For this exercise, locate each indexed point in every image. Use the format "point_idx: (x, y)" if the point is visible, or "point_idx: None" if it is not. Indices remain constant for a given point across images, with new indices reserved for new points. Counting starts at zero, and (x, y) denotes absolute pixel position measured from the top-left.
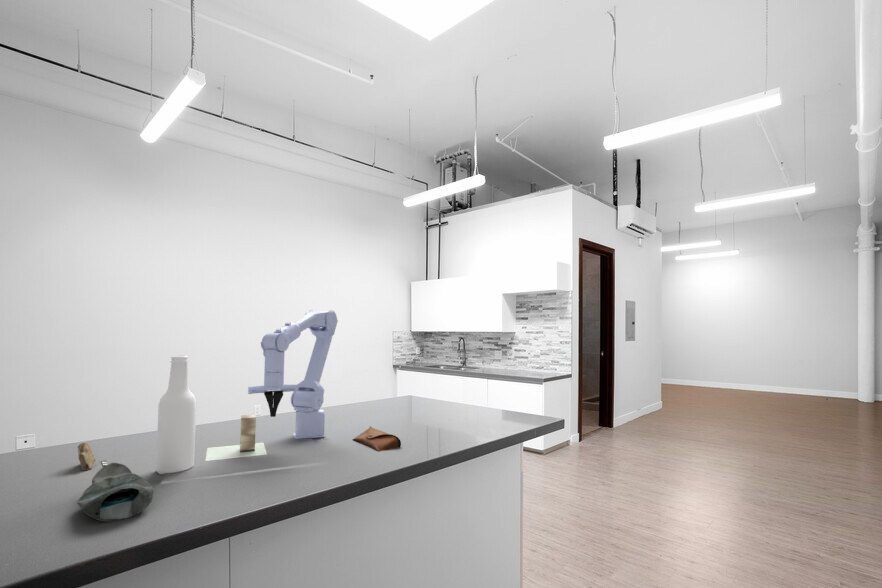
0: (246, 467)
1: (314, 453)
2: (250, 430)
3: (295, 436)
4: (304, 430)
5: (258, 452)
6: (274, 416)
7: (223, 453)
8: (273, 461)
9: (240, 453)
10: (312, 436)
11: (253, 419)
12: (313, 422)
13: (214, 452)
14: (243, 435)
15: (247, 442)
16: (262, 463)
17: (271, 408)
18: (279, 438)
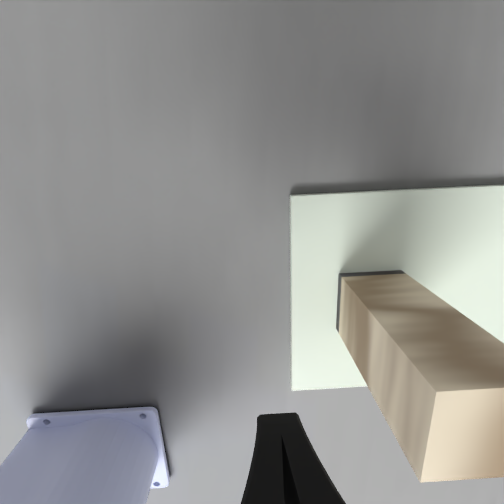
0: (397, 33)
1: (58, 170)
2: (413, 324)
3: (156, 439)
4: (104, 447)
5: (325, 243)
6: (266, 414)
7: (467, 279)
8: (263, 95)
9: (402, 253)
10: (81, 422)
11: (443, 377)
12: (37, 490)
13: (497, 306)
14: (438, 307)
15: (392, 289)
16: (317, 79)
17: (314, 483)
18: (223, 447)
